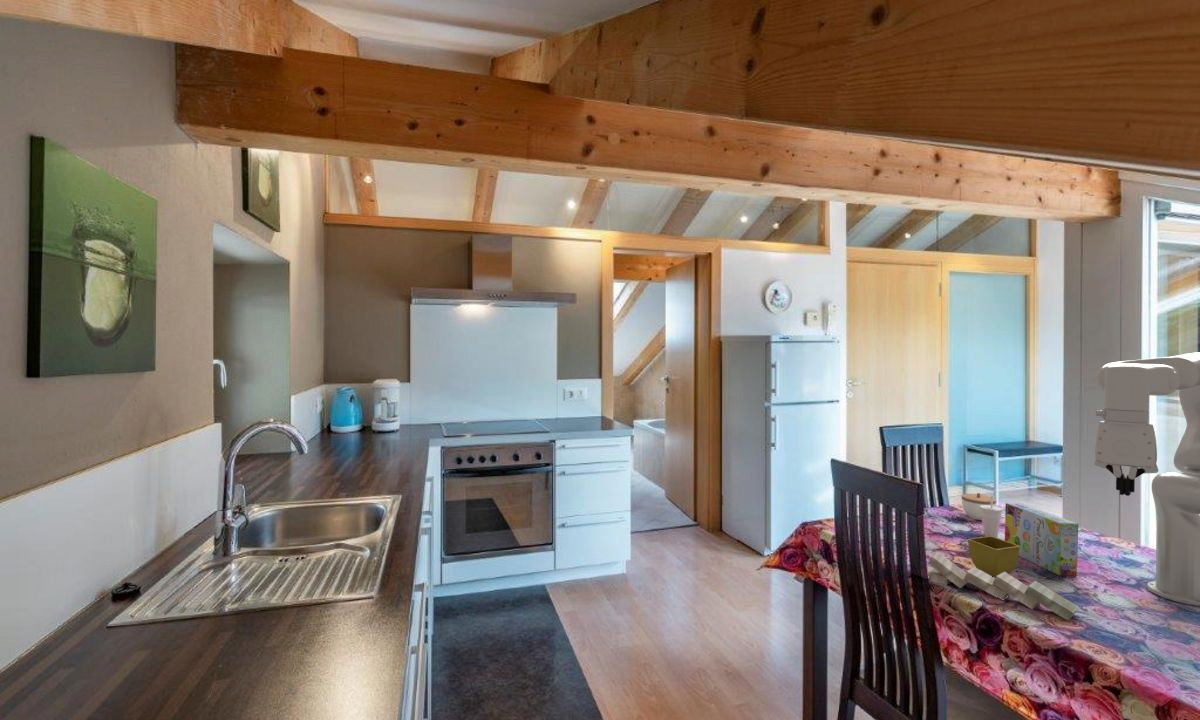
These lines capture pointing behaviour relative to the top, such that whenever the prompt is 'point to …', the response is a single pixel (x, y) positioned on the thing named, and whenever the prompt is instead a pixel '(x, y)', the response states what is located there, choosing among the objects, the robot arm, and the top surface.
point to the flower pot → (993, 555)
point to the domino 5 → (1051, 600)
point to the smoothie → (991, 519)
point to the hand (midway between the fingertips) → (1125, 494)
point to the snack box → (1043, 538)
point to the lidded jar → (975, 504)
